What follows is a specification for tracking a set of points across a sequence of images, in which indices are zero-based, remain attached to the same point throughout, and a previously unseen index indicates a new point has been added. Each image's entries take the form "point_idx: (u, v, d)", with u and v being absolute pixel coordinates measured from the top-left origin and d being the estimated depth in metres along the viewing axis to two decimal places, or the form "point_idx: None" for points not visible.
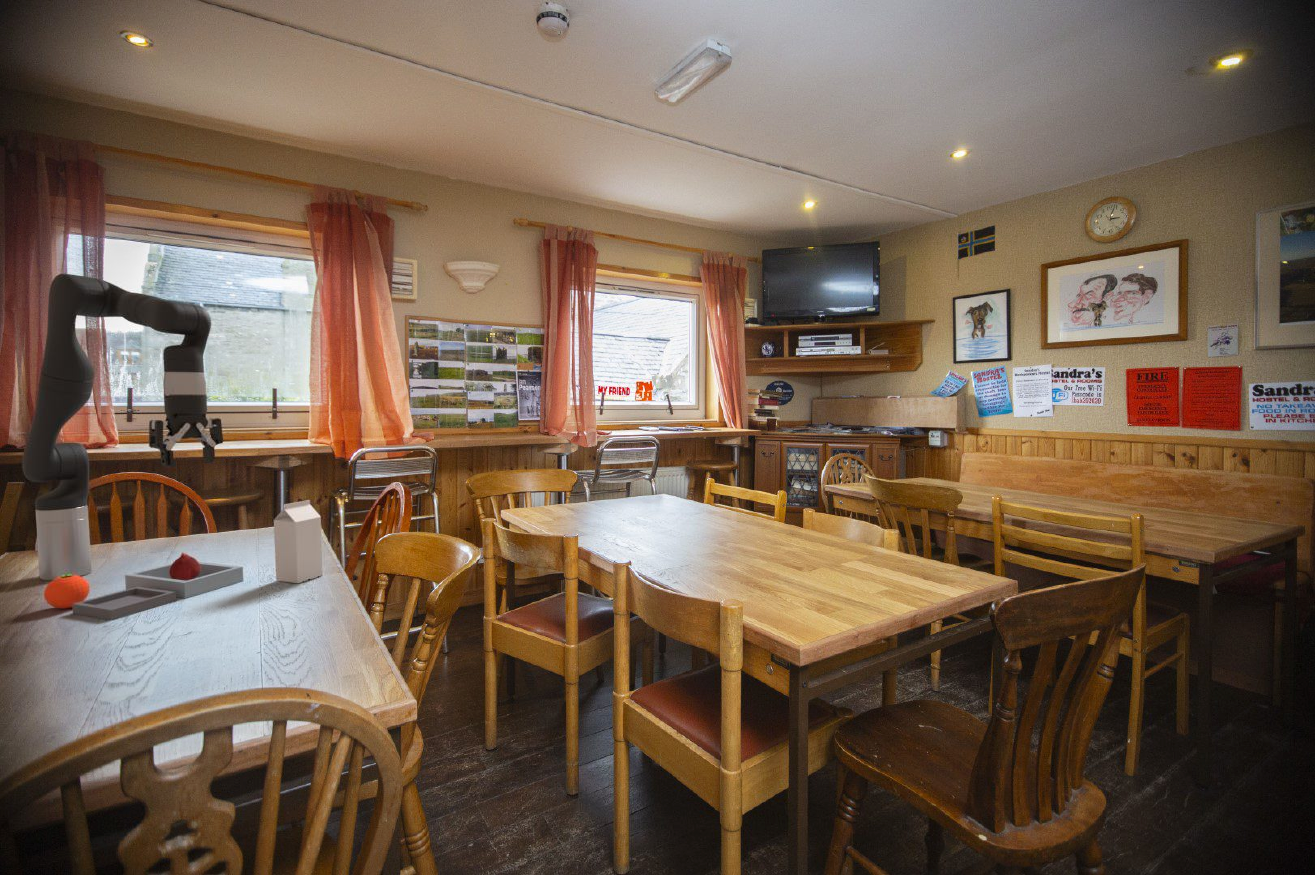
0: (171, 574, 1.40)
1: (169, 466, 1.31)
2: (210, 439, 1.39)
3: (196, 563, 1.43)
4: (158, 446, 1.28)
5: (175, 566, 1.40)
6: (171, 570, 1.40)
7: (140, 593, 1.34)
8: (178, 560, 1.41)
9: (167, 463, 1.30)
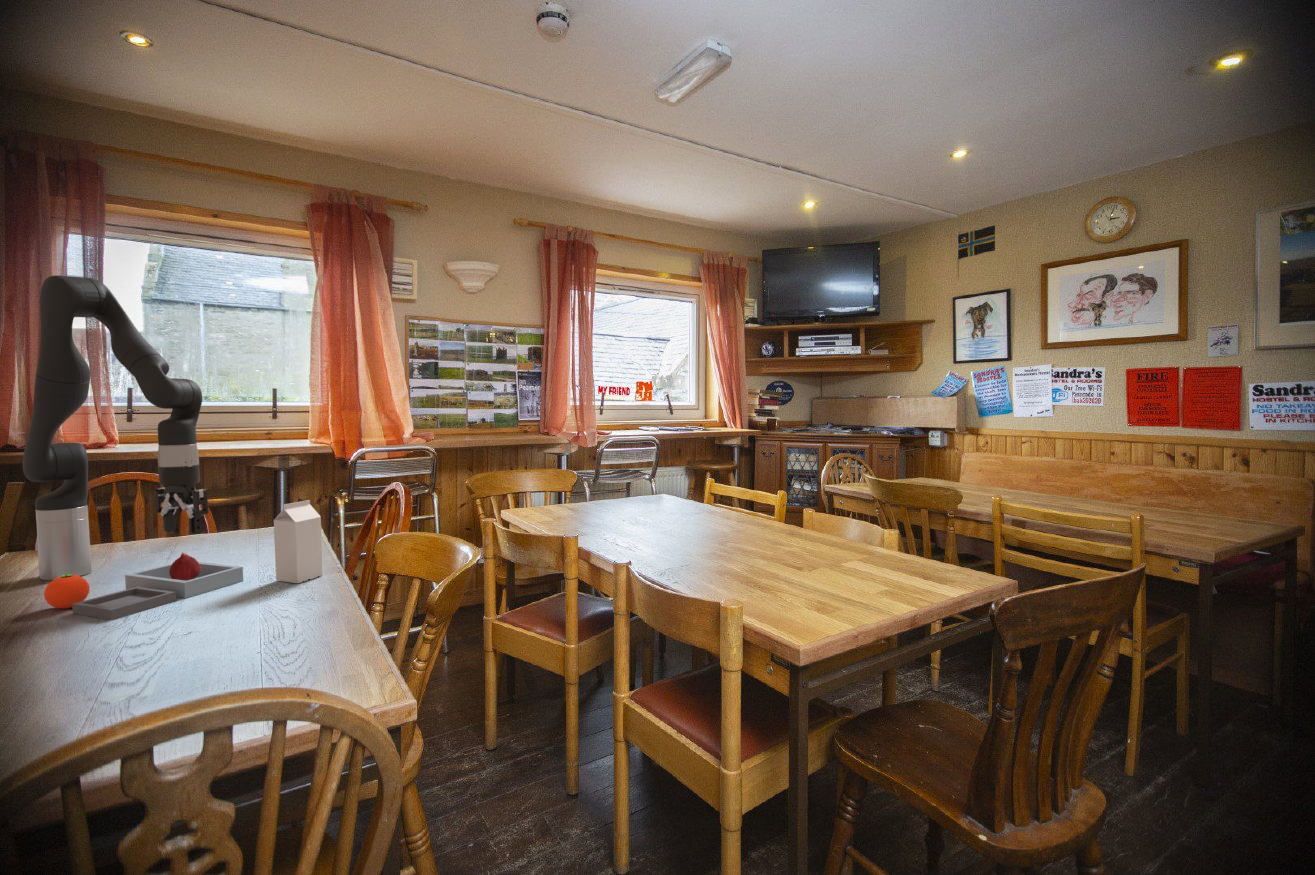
0: (171, 574, 1.40)
1: (199, 531, 1.41)
2: None
3: (196, 563, 1.43)
4: None
5: (175, 566, 1.40)
6: (171, 570, 1.40)
7: (140, 593, 1.34)
8: (178, 560, 1.41)
9: None
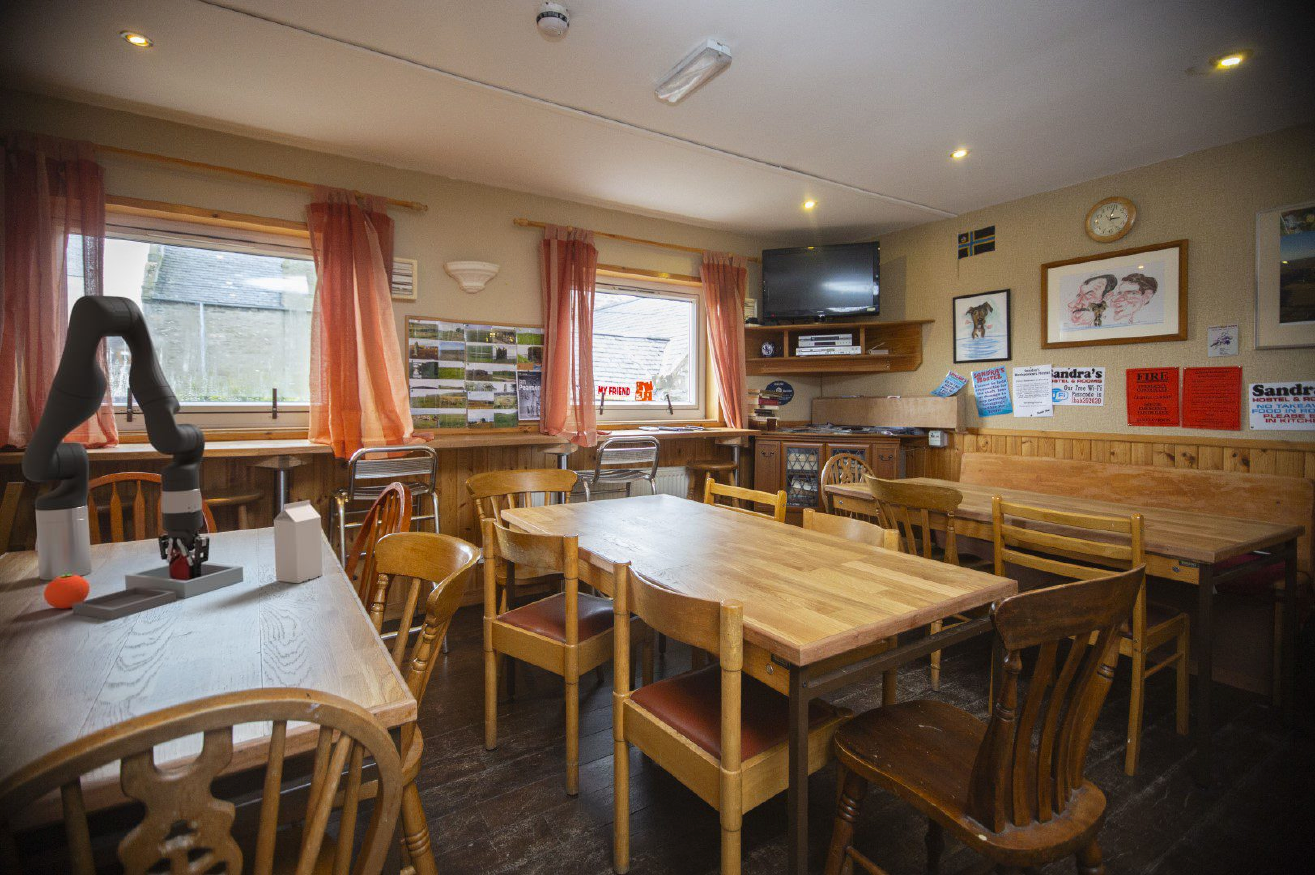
0: (171, 574, 1.40)
1: None
2: None
3: None
4: None
5: (175, 566, 1.40)
6: (171, 570, 1.40)
7: (140, 593, 1.34)
8: (178, 560, 1.41)
9: None
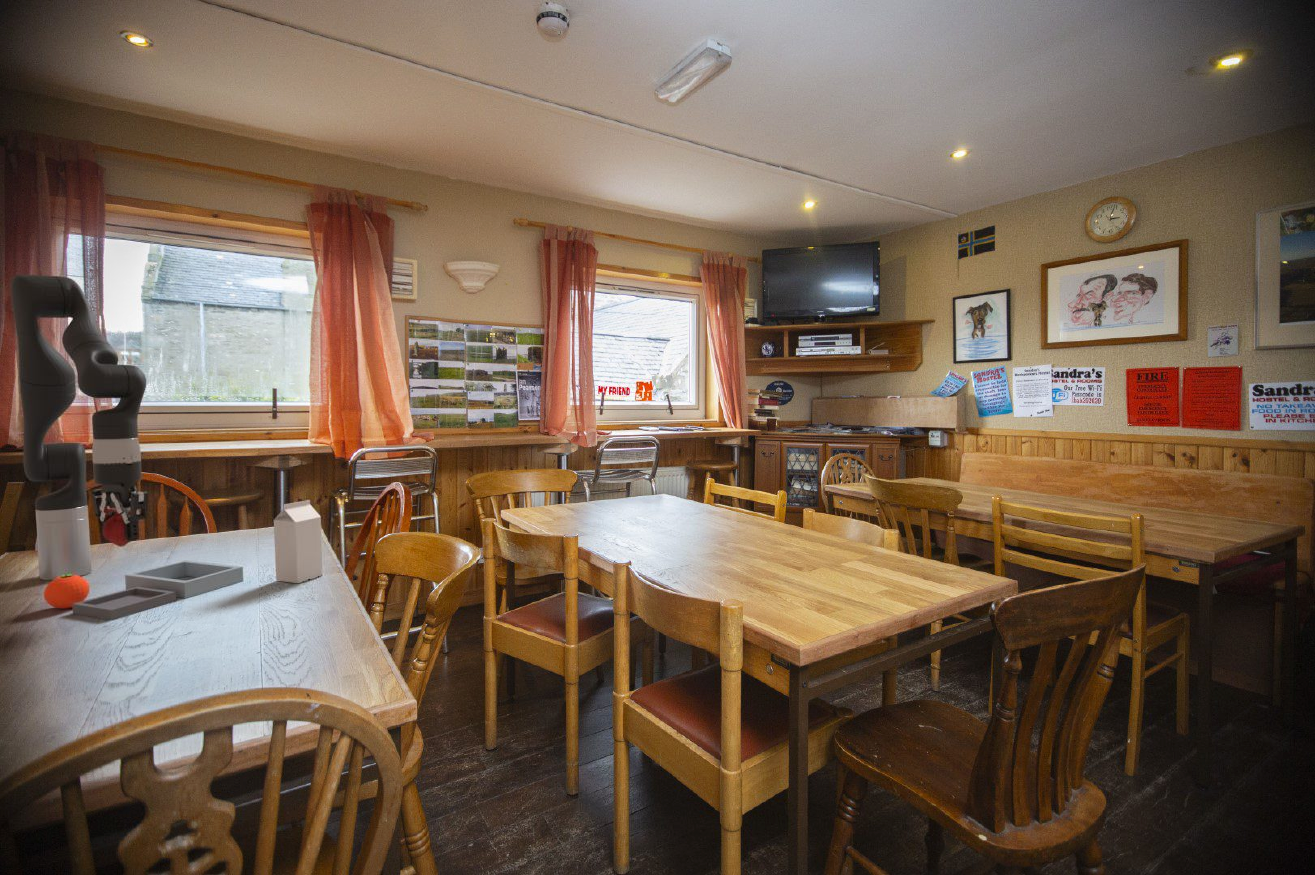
0: (104, 533, 1.24)
1: (137, 538, 1.27)
2: None
3: None
4: None
5: (109, 523, 1.24)
6: (104, 528, 1.24)
7: (140, 593, 1.34)
8: (112, 517, 1.25)
9: None
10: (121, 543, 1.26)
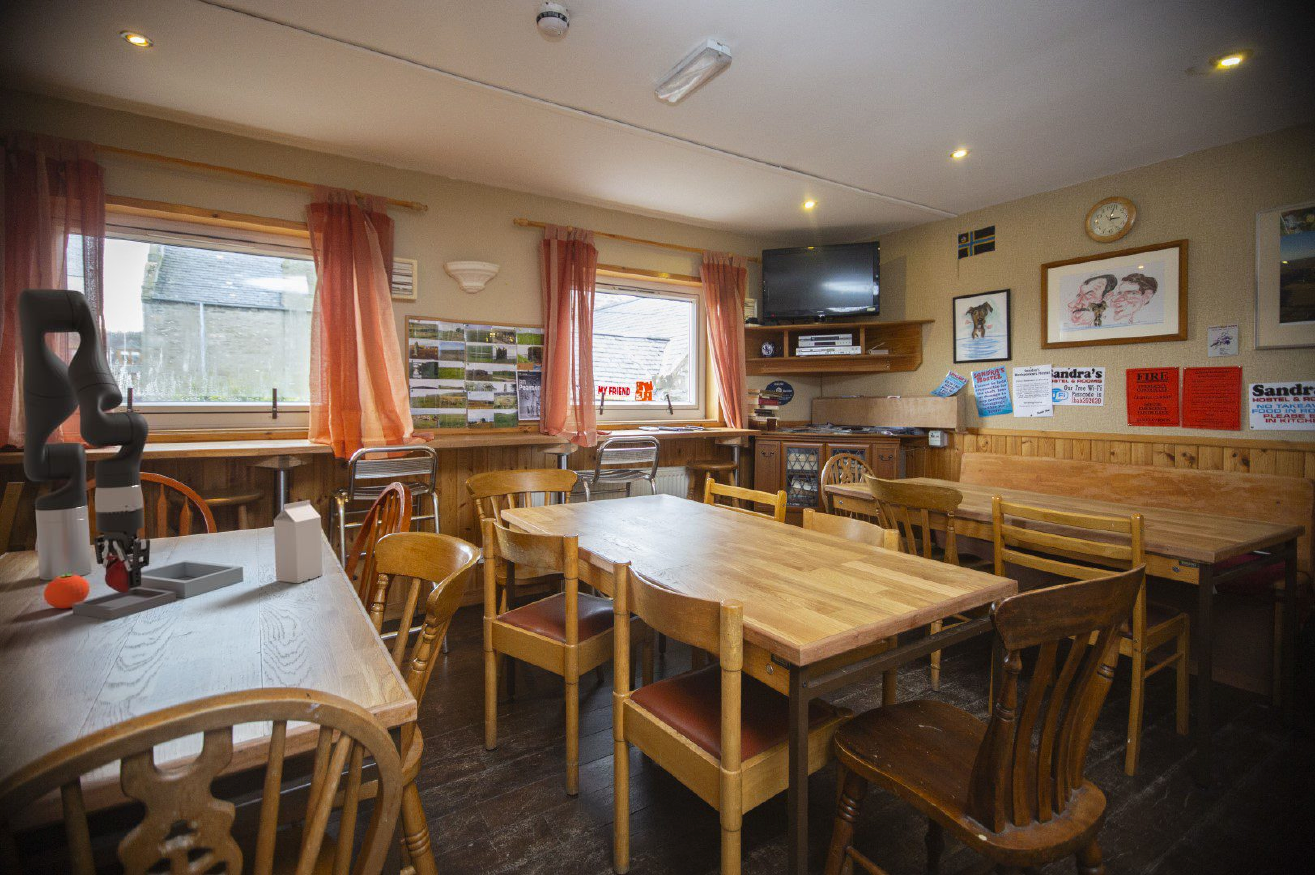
0: (106, 580, 1.25)
1: (139, 585, 1.27)
2: None
3: None
4: None
5: (111, 571, 1.25)
6: (106, 576, 1.25)
7: (140, 593, 1.34)
8: (115, 565, 1.26)
9: None
10: (124, 590, 1.26)
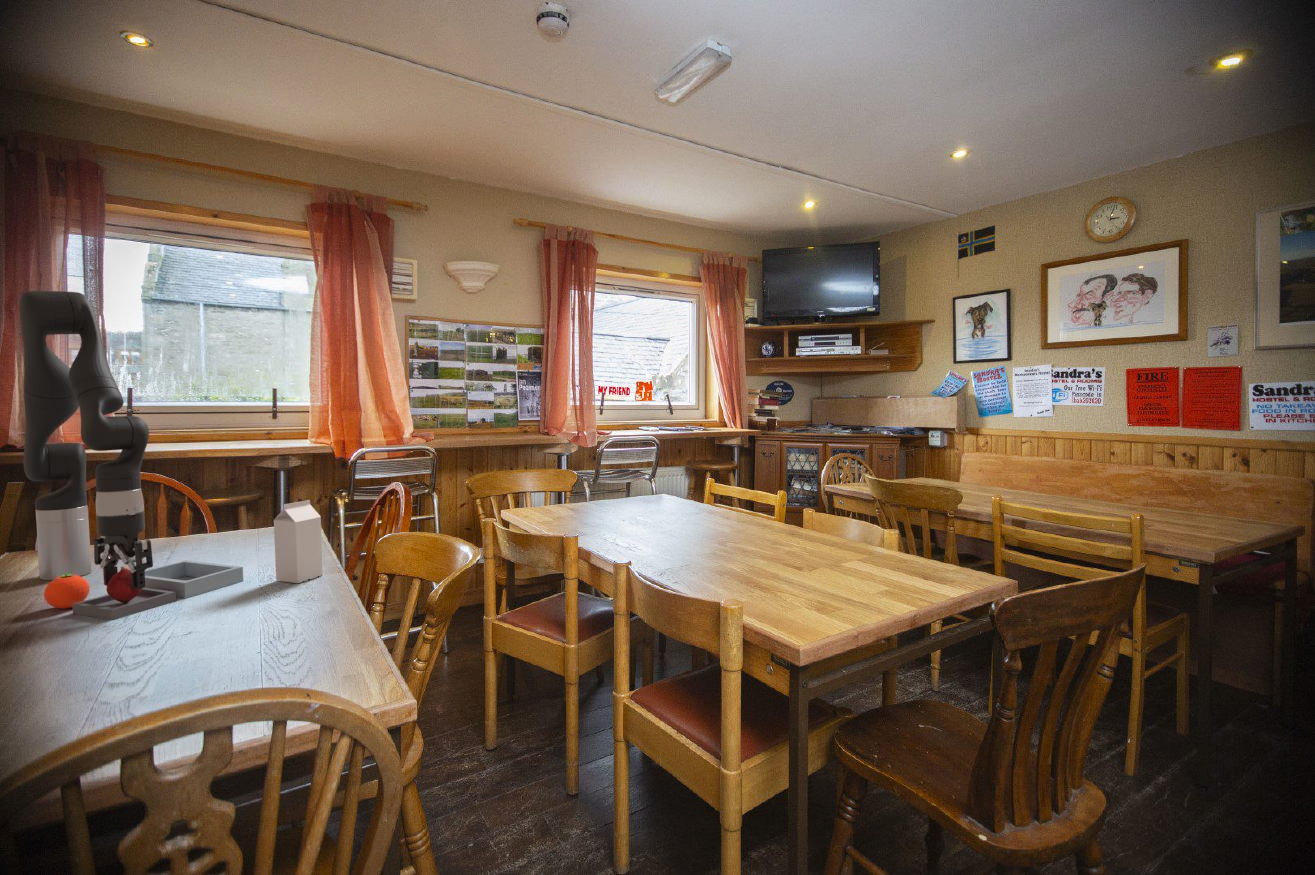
0: (108, 591, 1.25)
1: (143, 586, 1.27)
2: None
3: None
4: None
5: (113, 582, 1.25)
6: (108, 586, 1.25)
7: (140, 593, 1.34)
8: (117, 575, 1.26)
9: None
10: (125, 600, 1.27)
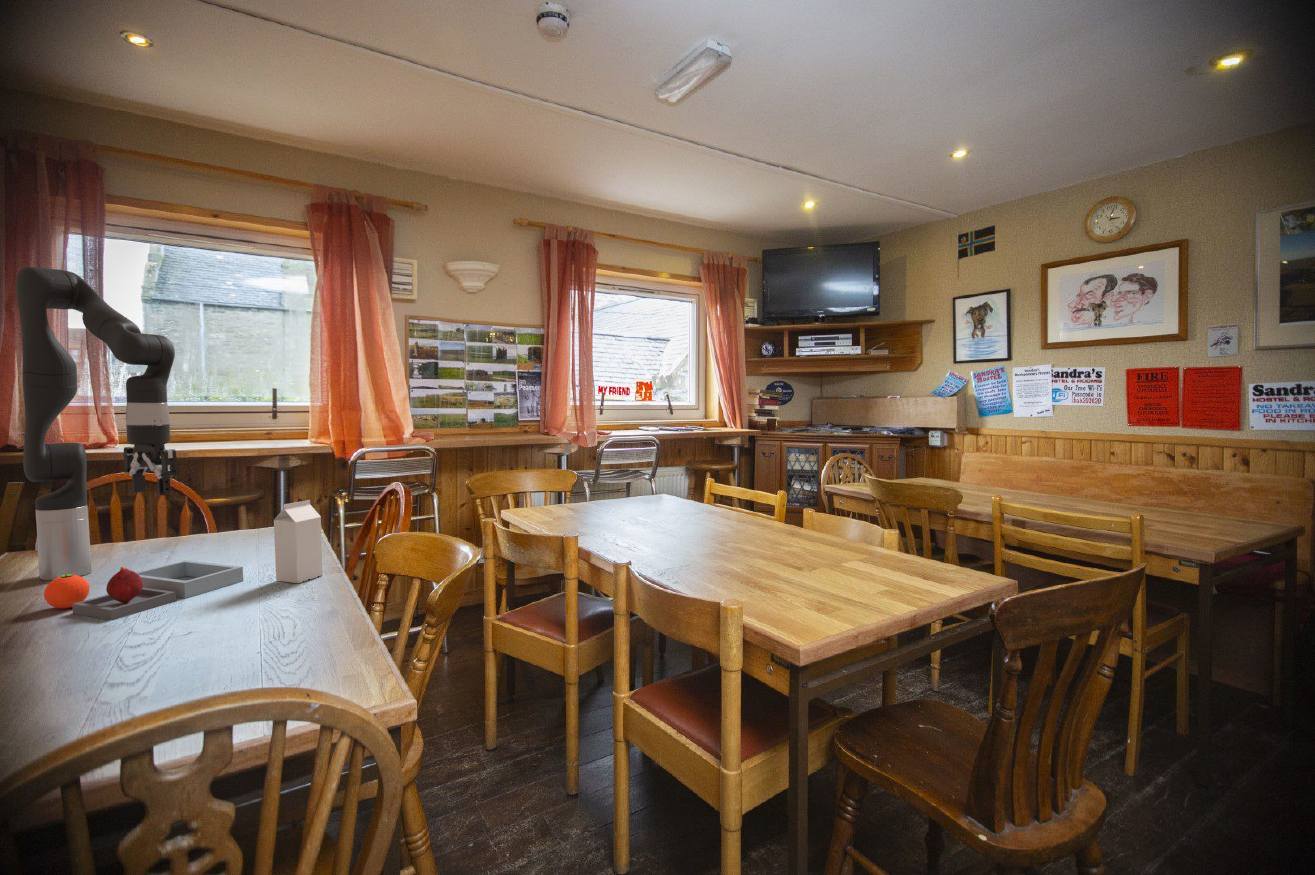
0: (108, 591, 1.25)
1: (168, 493, 1.37)
2: None
3: (137, 578, 1.28)
4: None
5: (113, 582, 1.25)
6: (108, 586, 1.25)
7: (140, 593, 1.34)
8: (116, 575, 1.26)
9: None
10: (125, 600, 1.27)
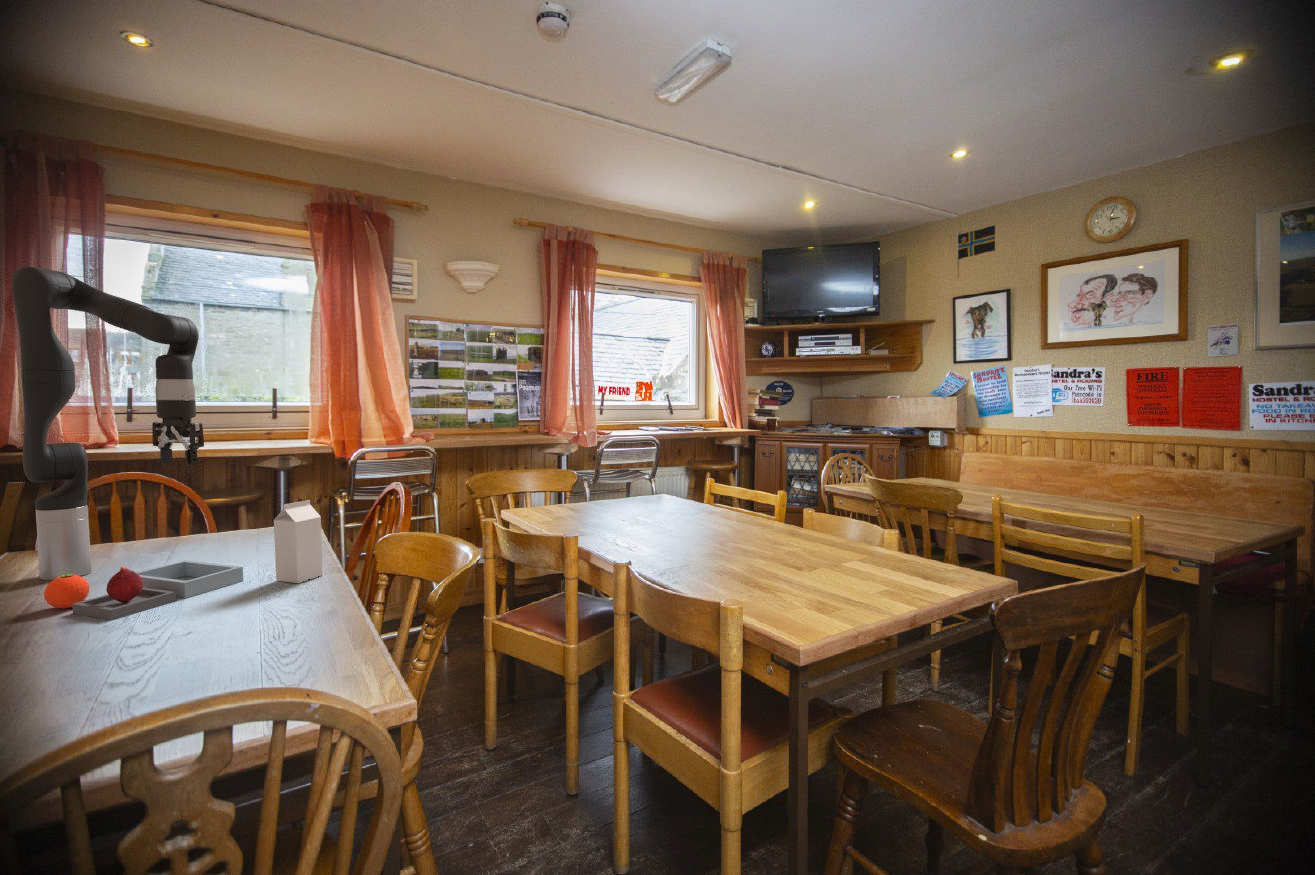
0: (108, 591, 1.25)
1: (195, 463, 1.47)
2: None
3: (137, 578, 1.28)
4: None
5: (113, 581, 1.25)
6: (108, 586, 1.25)
7: (140, 593, 1.34)
8: (116, 575, 1.26)
9: None
10: (125, 600, 1.27)
